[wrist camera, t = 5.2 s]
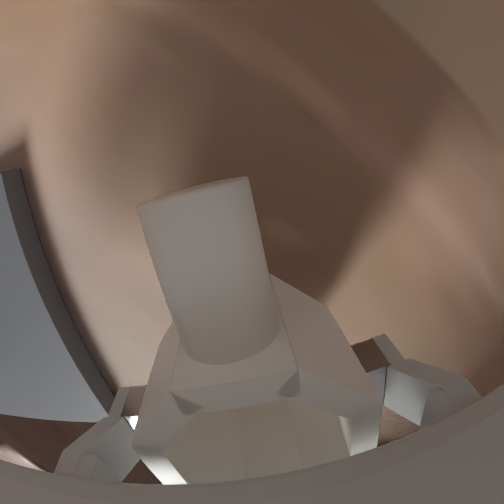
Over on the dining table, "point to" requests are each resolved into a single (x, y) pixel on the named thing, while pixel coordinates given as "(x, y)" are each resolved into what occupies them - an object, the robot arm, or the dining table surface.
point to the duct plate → (39, 328)
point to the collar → (241, 353)
